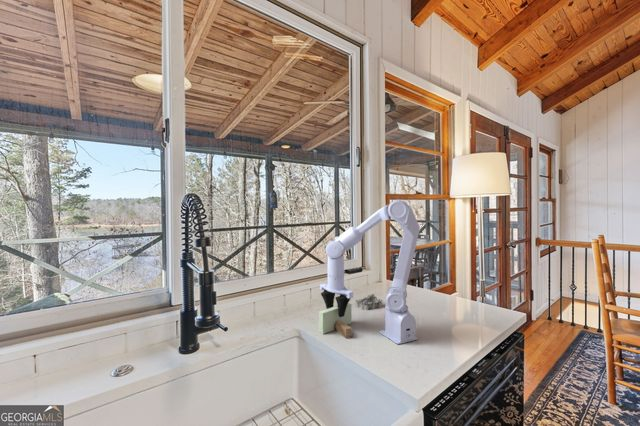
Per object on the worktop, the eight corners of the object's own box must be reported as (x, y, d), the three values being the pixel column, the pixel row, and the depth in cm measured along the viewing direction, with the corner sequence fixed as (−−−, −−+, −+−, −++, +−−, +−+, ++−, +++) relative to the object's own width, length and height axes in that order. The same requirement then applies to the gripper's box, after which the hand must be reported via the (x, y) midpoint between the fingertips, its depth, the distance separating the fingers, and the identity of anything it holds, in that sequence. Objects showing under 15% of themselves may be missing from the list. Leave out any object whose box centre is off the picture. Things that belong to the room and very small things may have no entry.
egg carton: (374, 302, 130) (374, 293, 130) (384, 308, 123) (384, 298, 123) (353, 305, 126) (353, 296, 126) (363, 311, 119) (363, 301, 119)
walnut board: (351, 337, 95) (351, 328, 95) (346, 338, 94) (346, 329, 94) (326, 318, 111) (326, 310, 111) (322, 319, 110) (322, 311, 110)
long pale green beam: (347, 321, 108) (347, 302, 108) (351, 323, 106) (351, 303, 106) (318, 332, 99) (318, 311, 98) (322, 334, 97) (322, 313, 97)
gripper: (359, 277, 99) (359, 317, 100) (329, 270, 110) (329, 306, 110) (344, 280, 95) (344, 322, 95) (315, 273, 106) (315, 310, 106)
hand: (335, 314), depth 102 cm, fingers open, 5 cm apart
